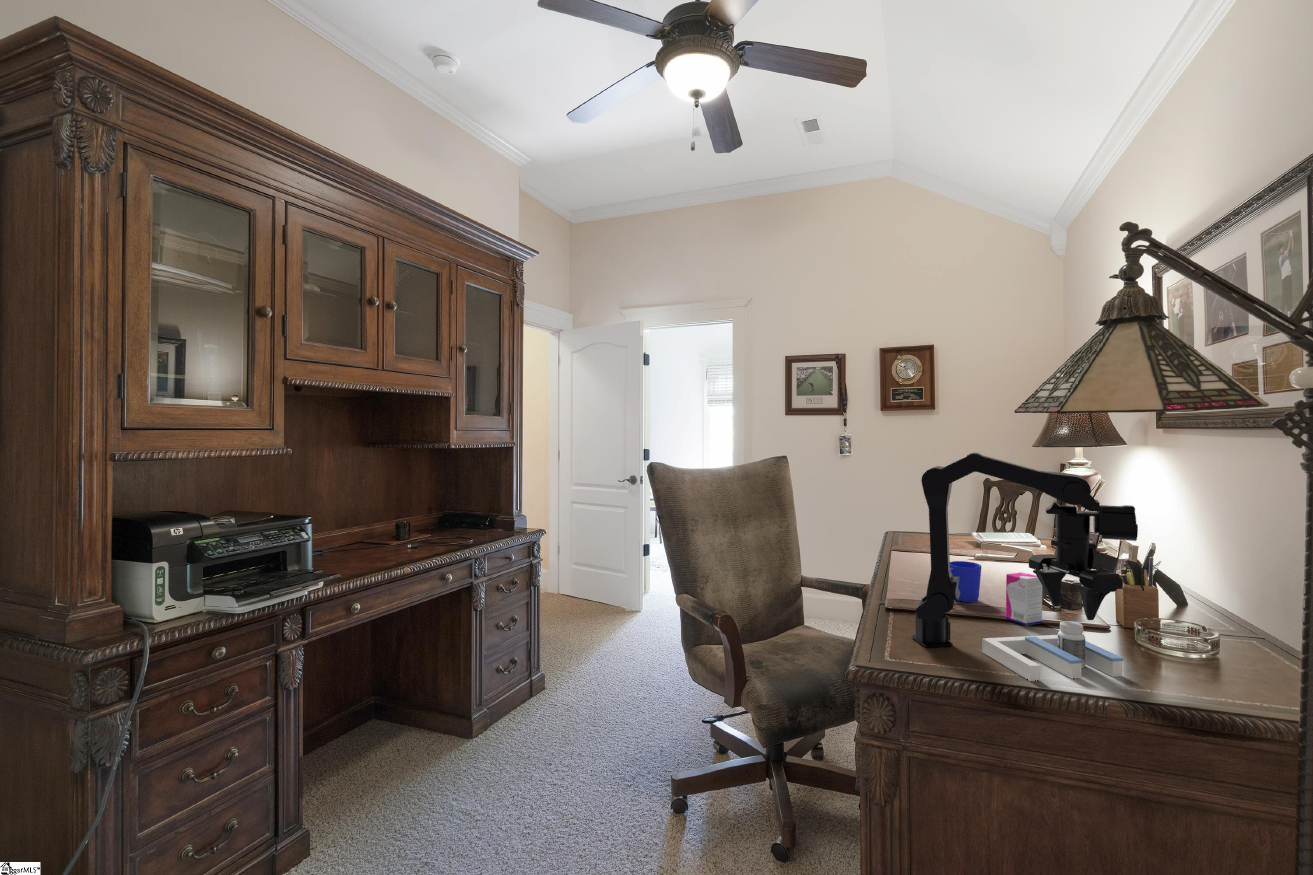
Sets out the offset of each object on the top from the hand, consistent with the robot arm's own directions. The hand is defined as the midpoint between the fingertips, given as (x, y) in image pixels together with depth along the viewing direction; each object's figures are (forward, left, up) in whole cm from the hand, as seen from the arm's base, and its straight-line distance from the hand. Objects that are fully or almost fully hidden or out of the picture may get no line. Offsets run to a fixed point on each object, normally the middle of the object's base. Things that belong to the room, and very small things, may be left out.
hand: (1072, 612), depth 126 cm
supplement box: (+9, +27, -11) cm, 30 cm away
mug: (+3, +45, -11) cm, 46 cm away
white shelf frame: (-4, +1, -11) cm, 12 cm away
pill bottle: (0, 0, -11) cm, 11 cm away
